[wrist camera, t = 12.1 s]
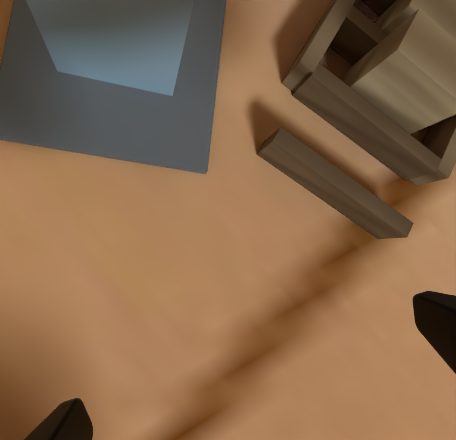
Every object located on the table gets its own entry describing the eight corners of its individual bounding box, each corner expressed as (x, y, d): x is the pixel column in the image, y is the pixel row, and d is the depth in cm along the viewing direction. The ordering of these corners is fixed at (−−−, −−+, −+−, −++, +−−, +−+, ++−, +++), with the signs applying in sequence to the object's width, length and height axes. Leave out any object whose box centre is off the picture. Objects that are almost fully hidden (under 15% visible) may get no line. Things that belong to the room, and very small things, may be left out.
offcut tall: (385, 144, 23) (467, 109, 17) (330, 102, 22) (397, 49, 17) (402, 111, 24) (486, 66, 18) (349, 69, 23) (419, 7, 17)
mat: (205, 173, 20) (207, 171, 19) (-8, 138, 17) (-13, 134, 16) (224, 4, 21) (226, -3, 20) (29, -55, 18) (26, -65, 18)
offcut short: (411, 92, 24) (470, 58, 20) (359, 50, 23) (409, 5, 19) (426, 62, 25) (486, 22, 21) (375, 20, 24) (427, -31, 20)
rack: (389, 246, 22) (520, 243, 15) (243, 144, 20) (307, 79, 13) (466, 76, 26) (606, 1, 18) (348, -26, 24) (449, -160, 16)
